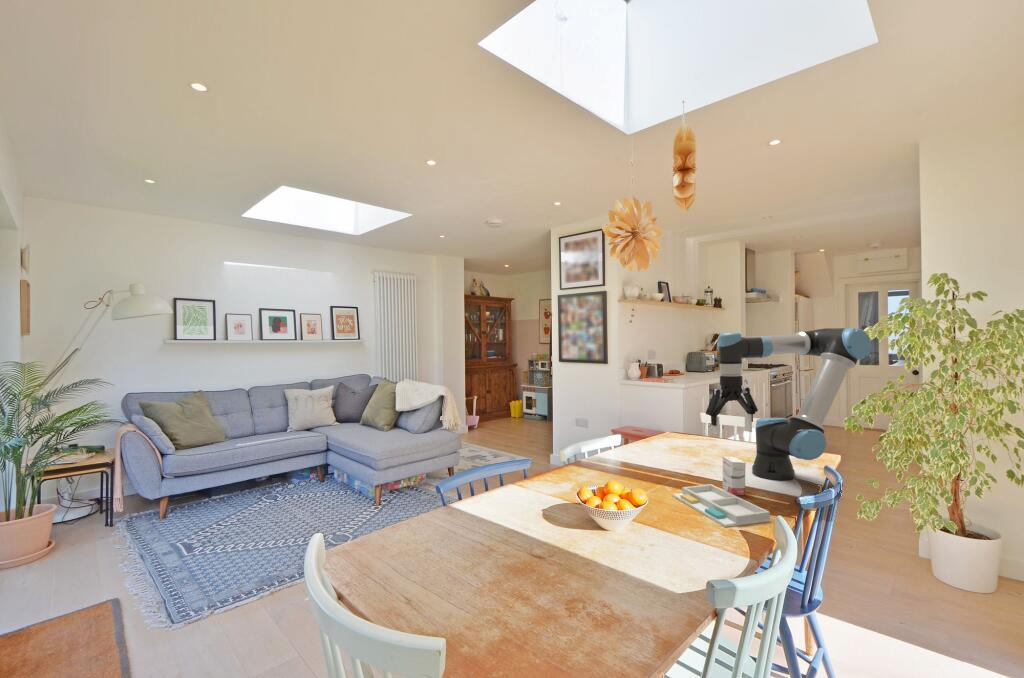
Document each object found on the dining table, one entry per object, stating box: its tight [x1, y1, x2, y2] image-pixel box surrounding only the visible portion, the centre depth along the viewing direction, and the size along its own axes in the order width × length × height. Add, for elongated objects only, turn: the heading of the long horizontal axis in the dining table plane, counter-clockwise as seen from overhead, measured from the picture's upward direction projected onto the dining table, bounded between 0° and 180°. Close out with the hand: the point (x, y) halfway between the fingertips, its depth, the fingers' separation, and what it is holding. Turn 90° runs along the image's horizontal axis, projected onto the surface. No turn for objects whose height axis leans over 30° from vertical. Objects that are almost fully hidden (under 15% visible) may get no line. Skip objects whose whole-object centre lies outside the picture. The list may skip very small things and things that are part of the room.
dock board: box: [672, 483, 771, 528], centre depth 155 cm, size 16×28×3 cm, turn 13°
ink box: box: [722, 455, 746, 496], centre depth 170 cm, size 9×5×12 cm, turn 179°
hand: (732, 432), depth 170 cm, fingers open, 13 cm apart
